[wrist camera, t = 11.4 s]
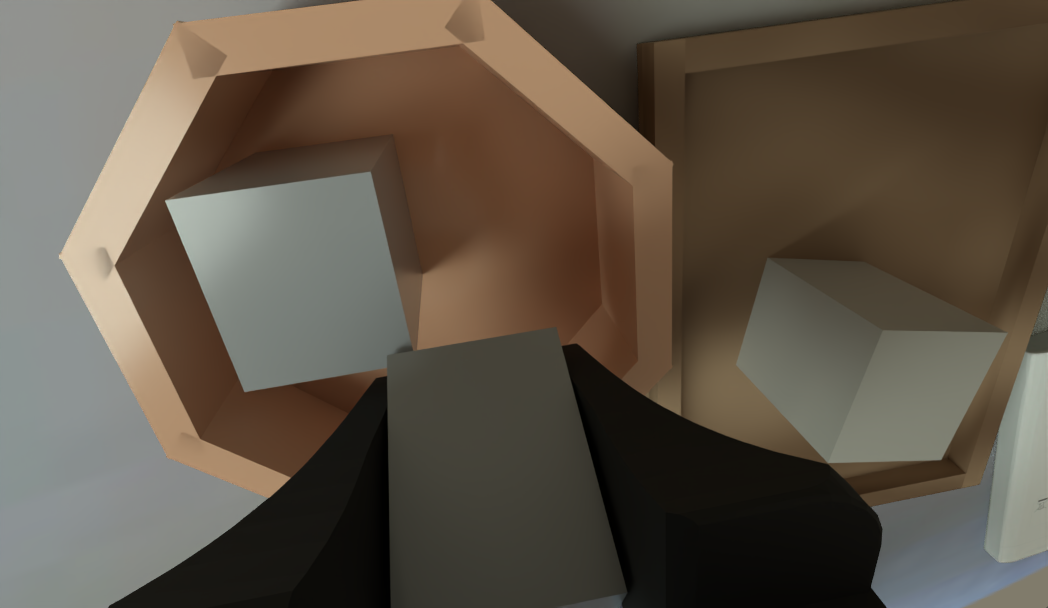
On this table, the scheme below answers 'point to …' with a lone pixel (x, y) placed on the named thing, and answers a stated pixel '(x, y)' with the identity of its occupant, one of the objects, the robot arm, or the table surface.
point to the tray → (854, 195)
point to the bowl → (432, 194)
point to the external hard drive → (1022, 464)
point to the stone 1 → (306, 260)
